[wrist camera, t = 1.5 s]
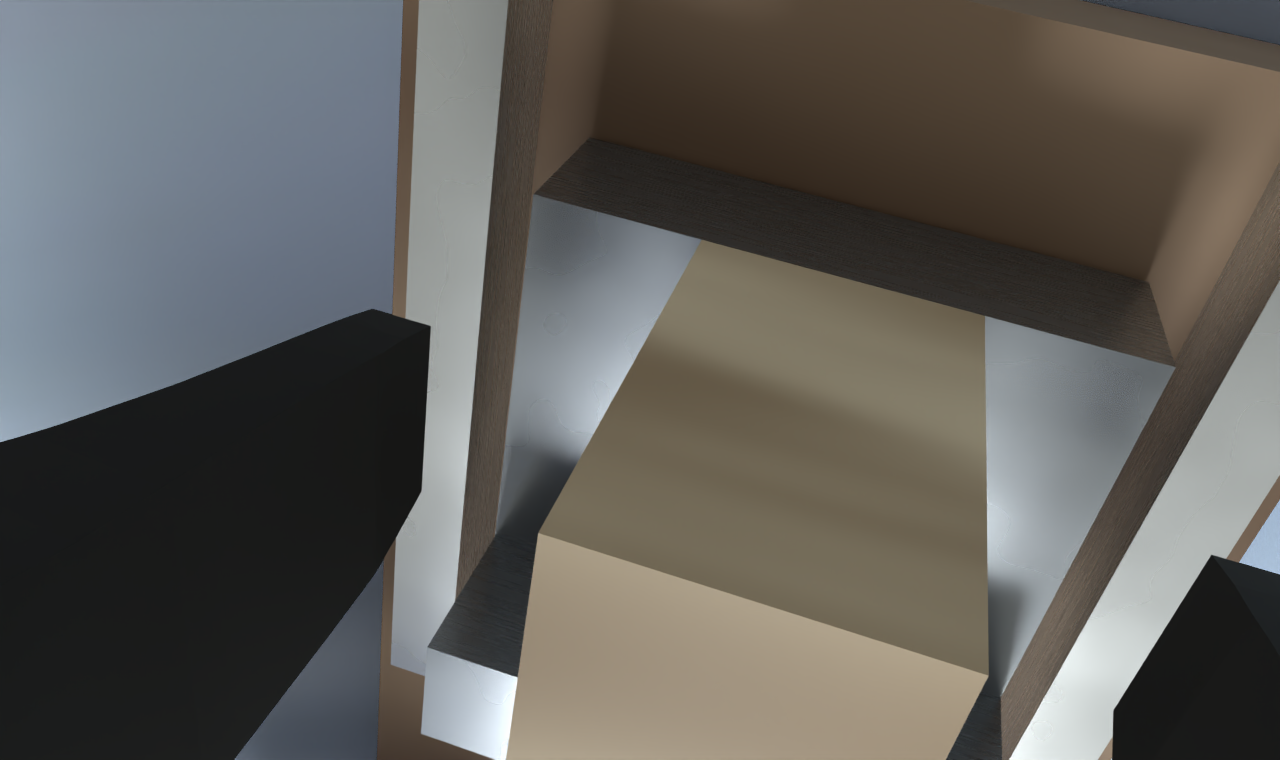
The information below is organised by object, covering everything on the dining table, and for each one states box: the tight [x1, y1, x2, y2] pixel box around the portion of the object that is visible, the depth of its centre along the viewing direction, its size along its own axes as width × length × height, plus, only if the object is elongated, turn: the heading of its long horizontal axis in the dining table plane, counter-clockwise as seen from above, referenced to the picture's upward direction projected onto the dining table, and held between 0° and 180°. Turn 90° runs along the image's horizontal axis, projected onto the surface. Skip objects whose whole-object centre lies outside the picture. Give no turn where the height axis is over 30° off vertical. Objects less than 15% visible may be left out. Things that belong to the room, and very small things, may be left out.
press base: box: [377, 0, 1280, 760], centre depth 16 cm, size 22×12×6 cm, turn 171°
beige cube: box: [421, 137, 1176, 760], centre depth 11 cm, size 7×7×7 cm
